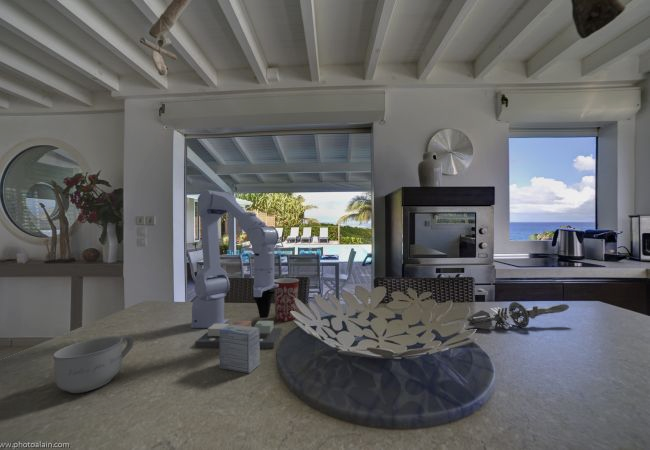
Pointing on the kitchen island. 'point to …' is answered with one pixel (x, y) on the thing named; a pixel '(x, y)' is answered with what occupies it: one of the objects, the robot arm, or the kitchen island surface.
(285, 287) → the mug
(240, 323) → the terracotta key
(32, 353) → the kitchen island surface
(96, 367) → the teacup
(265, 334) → the keypad
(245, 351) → the grey layered block
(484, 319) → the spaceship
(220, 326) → the ivory key
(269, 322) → the sage key
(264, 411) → the kitchen island surface
